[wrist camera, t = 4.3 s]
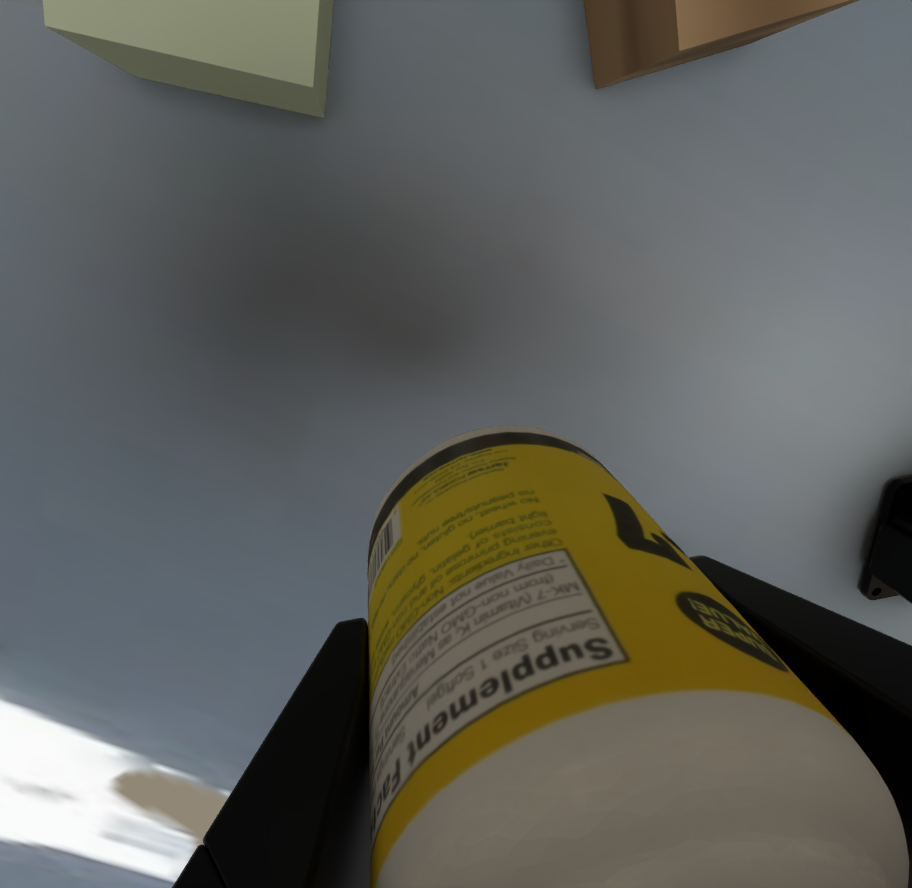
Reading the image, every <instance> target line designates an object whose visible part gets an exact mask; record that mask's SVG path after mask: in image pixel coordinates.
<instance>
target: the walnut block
mask: <svg viewBox="0 0 912 888" xmlns="http://www.w3.org/2000/svg"><path fill="white" fill-rule="evenodd" d="M855 1H858V0H584V7H585V15H586V22H587V30H588V37H589V44H590V52H591V59H592V66H593V74H594V81H595V88H596V89H599V88H602V87H606V86H609V85H612V84H616V83H619V82H622V81H626V80H629V79H633V78H636V77H639V76H643V75H646V74H649V73H653V72H656V71H659V70H663V69H666V68H669V67H673V66H676V65H679V64H683V63H686V62H689V61H693V60H696V59H700V58H703V57H706V56H710V55H713V54H716V53H720V52H723V51H726V50H730V49H733V48H736V47H740V46H743V45H746V44H750V43H752V42H755V41H757V40H760V39H762V38H765V37H767V36H770V35H772V34H775V33H777V32H780V31H782V30H785V29H787V28H790V27H792V26H795V25H797V24H800V23H802V22H805V21H808V20H810V19H813V18H815V17H818V16H820V15H823V14H825V13H828V12H830V11H833V10H835V9H838V8H840V7H843V6H845V5H848V4H850V3H853V2H855Z"/></svg>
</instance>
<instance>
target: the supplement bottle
mask: <svg viewBox="0 0 912 888" xmlns="http://www.w3.org/2000/svg"><path fill="white" fill-rule="evenodd" d="M368 655H369V664H368V684H369V778H370V888H908V879H909V857H908V850H907V843H906V838H905V833H904V829H903V824H902V821H901V818H900V815H899V812H898V809H897V807H896V804H895V802H894V799H893V797H892V795H891V793H890V791H889V789H888V787H887V786H886V784H885V782H884V781H883V779H882V777H881V776H880V774H879V772H878V771H877V769H876V768H875V766H874V765H873V764H872V762H871V761H870V760H869V758H868V757H867V756H866V754H865V753H864V752H863V750H862V749H861V748H860V746H859V745H858V744H857V742H856V741H855V740H854V739H853V737H852V736H851V735H850V734H849V733H848V732H847V731H846V730H845V729H844V728H843V727H842V725H841V724H840V723H839V722H838V721H837V720H836V719H835V718H834V717H833V716H832V714H831V713H830V712H829V711H828V710H827V709H826V708H825V707H824V706H823V705H822V704H821V702H820V701H819V700H818V699H817V698H816V697H815V696H814V695H813V694H812V693H811V692H810V690H809V689H808V688H807V687H806V686H805V685H804V684H803V683H802V682H801V681H800V680H799V678H798V677H797V676H796V675H795V674H794V673H793V672H792V671H791V670H790V669H789V667H788V666H787V665H786V664H785V663H784V662H783V661H782V660H781V658H780V657H779V656H778V655H777V654H776V653H775V652H774V651H773V650H772V649H771V648H770V647H769V646H768V645H767V644H766V643H765V642H764V640H763V639H762V638H761V637H760V636H759V635H758V634H757V633H756V632H755V630H754V629H753V628H752V627H751V626H750V625H749V624H748V623H747V621H746V620H745V619H744V618H743V617H742V616H741V615H740V613H739V612H738V611H737V610H736V609H735V608H734V607H733V605H732V604H731V603H730V602H729V601H728V600H727V599H726V598H725V597H724V596H723V595H722V594H721V593H720V592H719V591H718V590H717V589H716V588H715V586H714V585H713V584H712V583H711V581H710V580H709V579H708V578H707V577H706V576H705V575H704V574H703V573H702V572H701V571H700V570H699V569H698V568H697V566H696V565H695V564H694V563H693V562H692V561H691V560H690V559H689V558H688V557H687V556H686V555H685V553H684V552H683V551H682V550H681V549H680V548H679V547H678V546H677V545H676V544H675V543H674V542H673V541H672V540H671V539H670V538H669V537H668V535H667V534H666V533H665V532H664V531H663V530H662V529H661V528H660V527H659V525H658V524H657V523H656V522H655V521H654V520H653V519H652V518H651V517H650V515H649V514H648V513H647V512H646V511H645V510H644V509H643V508H642V507H641V506H640V505H639V504H638V502H637V501H636V500H635V499H634V498H633V497H632V496H631V495H630V494H629V492H628V491H627V490H626V489H625V488H624V487H623V486H622V485H621V484H620V483H619V482H618V481H617V480H616V479H615V478H614V477H613V475H612V474H611V473H610V472H609V471H608V470H607V469H606V468H605V467H604V466H603V465H602V464H601V463H600V462H599V461H598V460H597V459H596V458H595V457H594V456H593V455H591V454H590V453H589V452H588V451H586V450H585V449H584V448H582V447H581V446H579V445H577V444H576V443H574V442H572V441H570V440H569V439H567V438H564V437H562V436H560V435H558V434H555V433H552V432H550V431H546V430H542V429H538V428H531V427H524V426H498V427H489V428H484V429H479V430H474V431H470V432H467V433H464V434H461V435H459V436H456V437H453V438H451V439H449V440H447V441H445V442H443V443H441V444H439V445H437V446H436V447H434V448H432V449H431V450H429V451H428V452H426V453H425V454H424V455H422V456H421V457H420V458H418V459H417V460H416V461H415V462H414V463H413V464H411V465H410V466H409V467H408V468H407V469H406V470H405V471H404V472H403V473H402V474H401V475H400V476H399V477H398V479H397V480H396V481H395V482H394V484H393V485H392V486H391V488H390V489H389V490H388V492H387V494H386V495H385V497H384V498H383V500H382V502H381V504H380V506H379V508H378V510H377V513H376V515H375V518H374V522H373V525H372V529H371V533H370V539H369V551H368Z"/></svg>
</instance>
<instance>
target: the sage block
mask: <svg viewBox="0 0 912 888" xmlns="http://www.w3.org/2000/svg"><path fill="white" fill-rule="evenodd" d="M333 4H334V0H43V10H44V22H45V26H46V27H48V28H50V29H51V30H53V31H55V32H57V33H59V34H60V35H62V36H64V37H66V38H67V39H69V40H71V41H73V42H75V43H76V44H78V45H80V46H82V47H83V48H85V49H87V50H89V51H91V52H92V53H94V54H96V55H98V56H100V57H101V58H103V59H105V60H107V61H108V62H110V63H112V64H114V65H116V66H117V67H119V68H121V69H123V70H124V71H126V72H128V73H130V74H132V75H133V76H135V77H138V78H143V79H148V80H152V81H157V82H161V83H166V84H170V85H175V86H179V87H184V88H189V89H193V90H198V91H202V92H207V93H211V94H216V95H220V96H225V97H230V98H234V99H239V100H243V101H248V102H252V103H257V104H261V105H266V106H271V107H275V108H280V109H284V110H289V111H293V112H298V113H303V114H307V115H312V116H316V117H321V118H325V106H326V93H327V80H328V68H329V55H330V42H331V29H332V17H333Z"/></svg>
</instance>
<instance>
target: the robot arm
mask: <svg viewBox="0 0 912 888" xmlns="http://www.w3.org/2000/svg"><path fill="white" fill-rule="evenodd" d="M689 559H690V560H691V561H692V562H693V563H694V564H695V565H696V566H697V568H698V569H699V570H700V571H701V572H702V573H703V574H704V575H705V576H706V577H707V578H708V579H709V580H710V581H711V583H712V584H713V585H714V586H715V588H716V589H717V590H718V591H719V592H720V593H721V594H722V595H723V596H724V597H725V598H726V599H727V600H728V601H729V602H730V603H731V604H732V605H733V607H734V608H735V609H736V610H737V611H738V612H739V613H740V615H741V616H742V617H743V618H744V619H745V620H746V621H747V623H748V624H749V625H750V626H751V627H752V628H753V629H754V630H755V632H756V633H757V634H758V635H759V636H760V637H761V638H762V639H763V640H764V642H765V643H766V644H767V645H768V646H769V647H770V648H771V649H772V650H773V651H774V652H775V653H776V654H777V655H778V656H779V657H780V658H781V660H782V661H783V662H784V663H785V664H786V665H787V666H788V667H789V669H790V670H791V671H792V672H793V673H794V674H795V675H796V676H797V677H798V678H799V680H800V681H801V682H802V683H803V684H804V685H805V686H806V687H807V688H808V689H809V690H810V692H811V693H812V694H813V695H814V696H815V697H816V698H817V699H818V700H819V701H820V702H821V704H822V705H823V706H824V707H825V708H826V709H827V710H828V711H829V712H830V713H831V714H832V716H833V717H834V718H835V719H836V720H837V721H838V722H839V723H840V724H841V725H842V727H843V728H844V729H845V730H846V731H847V732H848V733H849V734H850V735H851V736H852V737H853V739H854V740H855V741H856V742H857V744H858V745H859V746H860V748H861V749H862V750H863V752H864V753H865V754H866V756H867V757H868V758H869V760H870V761H871V762H872V764H873V765H874V766H875V768H876V769H877V771H878V772H879V774H880V776H881V777H882V779H883V781H884V782H885V784H886V786H887V787H888V789H889V791H890V793H891V795H892V797H893V799H894V802H895V804H896V807H897V809H898V812H899V815H900V818H901V821H902V824H903V829H904V833H905V838H906V843H907V850H908V857H909V879H908V888H912V646H911V645H909V644H906V643H904V642H902V641H899V640H897V639H895V638H893V637H890V636H888V635H886V634H883V633H881V632H879V631H876V630H874V629H872V628H870V627H867V626H865V625H863V624H860V623H858V622H856V621H854V620H851V619H849V618H847V617H844V616H842V615H840V614H837V613H835V612H833V611H831V610H828V609H826V608H824V607H821V606H819V605H817V604H815V603H812V602H810V601H808V600H805V599H803V598H801V597H798V596H796V595H794V594H792V593H789V592H787V591H785V590H782V589H780V588H778V587H776V586H773V585H771V584H769V583H766V582H764V581H762V580H759V579H757V578H755V577H753V576H750V575H748V574H746V573H743V572H741V571H739V570H736V569H734V568H732V567H730V566H727V565H725V564H723V563H720V562H718V561H716V560H714V559H711V558H709V557H706V556H694V557H689ZM860 592H861V593H862V594H863V595H864V596H865V597H867V598H868V599H870V600H877V599H882V598H887V597H892V596H897V595H900V596H902V597H903V598H905V599H906V600H907V601H909V602H910V603H911V604H912V477H907V478H901V479H897V480H894V481H893V482H892V483H890V485H889V486H888V487H887V490H886V493H885V497H884V500H883V504H882V508H881V512H880V516H879V520H878V523H877V527H876V531H875V535H874V539H873V543H872V546H871V550H870V554H869V558H868V562H867V566H866V569H865V573H864V577H863V581H862V585H861V589H860ZM368 664H369V655H368V625H367V622H366V620H365V619H364V618H357V619H352V620H346V621H341V622H339V623H337V624H336V625H335V627H334V628H333V630H332V632H331V633H330V635H329V637H328V638H327V640H326V641H325V643H324V645H323V646H322V648H321V649H320V651H319V653H318V654H317V656H316V657H315V659H314V661H313V662H312V664H311V666H310V667H309V669H308V670H307V672H306V674H305V675H304V677H303V678H302V680H301V682H300V683H299V685H298V686H297V688H296V690H295V691H294V693H293V695H292V696H291V698H290V699H289V701H288V703H287V704H286V706H285V707H284V709H283V711H282V712H281V714H280V715H279V717H278V719H277V720H276V722H275V723H274V725H273V727H272V728H271V730H270V732H269V733H268V735H267V736H266V738H265V740H264V741H263V743H262V744H261V746H260V748H259V749H258V751H257V752H256V754H255V756H254V757H253V759H252V761H251V762H250V764H249V765H248V767H247V769H246V770H245V772H244V773H243V775H242V777H241V778H240V780H239V781H238V783H237V785H236V786H235V788H234V790H233V791H232V793H231V794H230V796H229V798H228V799H227V801H226V802H225V804H224V806H223V807H222V809H221V810H220V812H219V814H218V815H217V817H216V819H215V820H214V822H213V823H212V825H211V827H210V828H209V830H208V831H207V833H206V835H205V836H204V838H203V843H204V845H205V846H204V845H199V846H198V847H197V848H196V850H195V852H194V853H193V855H192V857H191V858H190V860H189V861H188V863H187V865H186V866H185V868H184V869H183V871H182V873H181V874H180V876H179V878H178V879H177V881H176V882H175V884H174V885H173V887H172V888H370V778H369V684H368Z"/></svg>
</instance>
